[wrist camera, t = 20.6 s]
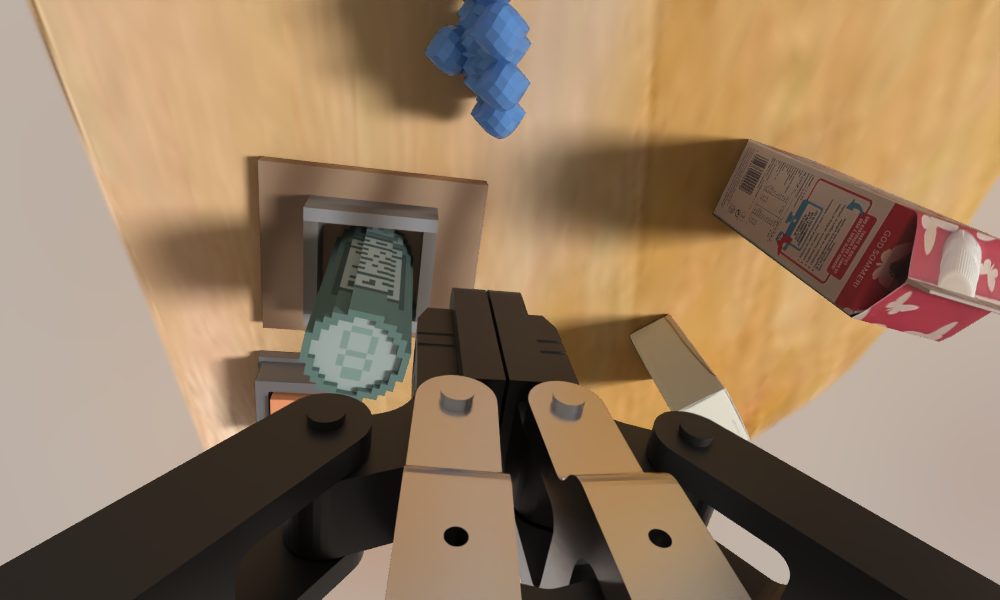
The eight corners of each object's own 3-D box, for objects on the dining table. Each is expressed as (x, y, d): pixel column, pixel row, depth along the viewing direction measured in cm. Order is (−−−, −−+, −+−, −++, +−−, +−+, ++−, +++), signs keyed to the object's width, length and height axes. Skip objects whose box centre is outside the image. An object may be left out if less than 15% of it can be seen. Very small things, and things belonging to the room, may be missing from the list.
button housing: (355, 356, 53) (350, 381, 50) (352, 427, 57) (347, 456, 53) (261, 350, 52) (249, 376, 49) (263, 424, 56) (252, 453, 52)
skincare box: (692, 359, 58) (754, 442, 47) (650, 380, 59) (703, 467, 48) (668, 310, 55) (728, 387, 44) (625, 334, 56) (674, 414, 45)
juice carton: (749, 139, 49) (968, 234, 29) (816, 162, 50) (1067, 267, 31) (712, 214, 51) (891, 348, 32) (777, 233, 53) (985, 372, 33)
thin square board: (486, 181, 48) (492, 196, 44) (465, 334, 54) (469, 359, 50) (261, 156, 45) (247, 170, 41) (266, 320, 51) (254, 346, 47)
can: (327, 282, 49) (292, 389, 35) (342, 213, 46) (311, 300, 33) (401, 299, 50) (394, 408, 37) (419, 233, 48) (420, 324, 34)
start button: (333, 381, 52) (328, 402, 50) (331, 423, 54) (327, 445, 52) (277, 378, 52) (270, 399, 49) (278, 421, 54) (271, 443, 51)
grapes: (411, -49, 40) (408, -66, 29) (512, -58, 41) (544, -76, 30) (433, 128, 45) (438, 169, 35) (522, 119, 46) (553, 156, 35)
